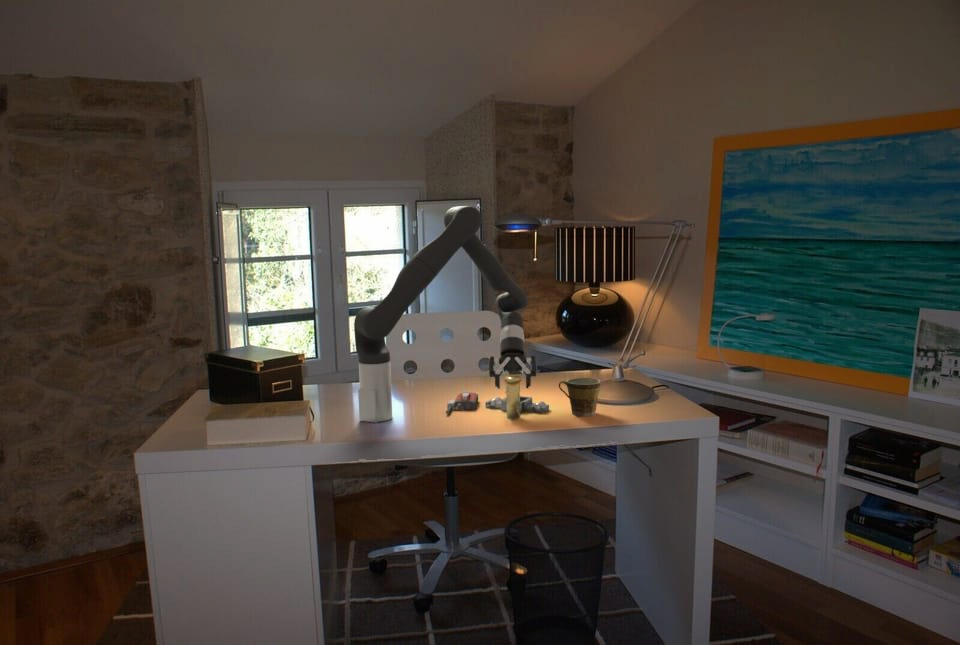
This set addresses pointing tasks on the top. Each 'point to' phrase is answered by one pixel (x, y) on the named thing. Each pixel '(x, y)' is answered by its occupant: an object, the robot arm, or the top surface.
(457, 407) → the walkie-talkie
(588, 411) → the ceramic cup
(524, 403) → the chain end
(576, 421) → the top surface
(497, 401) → the chain end
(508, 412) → the link pin
